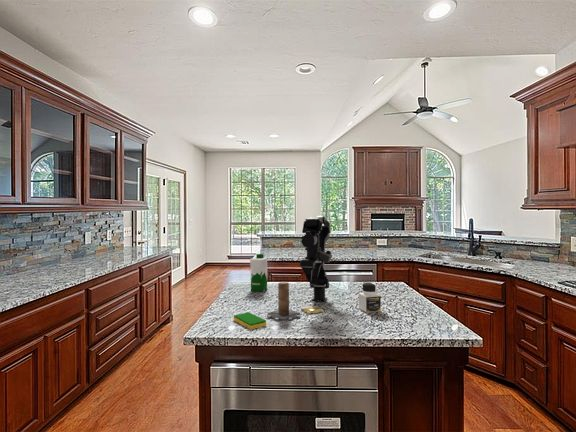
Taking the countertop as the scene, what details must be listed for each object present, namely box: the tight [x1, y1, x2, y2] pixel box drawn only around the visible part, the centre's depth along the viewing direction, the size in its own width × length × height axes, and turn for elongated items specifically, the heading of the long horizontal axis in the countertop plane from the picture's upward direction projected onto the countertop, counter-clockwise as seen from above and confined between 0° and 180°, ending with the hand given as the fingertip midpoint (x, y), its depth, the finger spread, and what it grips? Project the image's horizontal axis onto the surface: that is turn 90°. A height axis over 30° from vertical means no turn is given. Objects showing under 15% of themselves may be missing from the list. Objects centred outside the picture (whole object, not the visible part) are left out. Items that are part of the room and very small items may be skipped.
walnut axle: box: [277, 281, 290, 316], centre depth 141 cm, size 4×4×13 cm
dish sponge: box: [233, 312, 267, 330], centre depth 133 cm, size 7×14×2 cm, turn 37°
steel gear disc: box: [266, 308, 301, 322], centre depth 141 cm, size 14×14×1 cm
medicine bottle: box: [358, 281, 382, 314], centre depth 148 cm, size 7×7×12 cm
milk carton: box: [249, 253, 268, 293], centre depth 188 cm, size 9×9×20 cm
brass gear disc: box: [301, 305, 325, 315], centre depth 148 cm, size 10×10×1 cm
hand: (313, 279), depth 152 cm, fingers open, 9 cm apart
